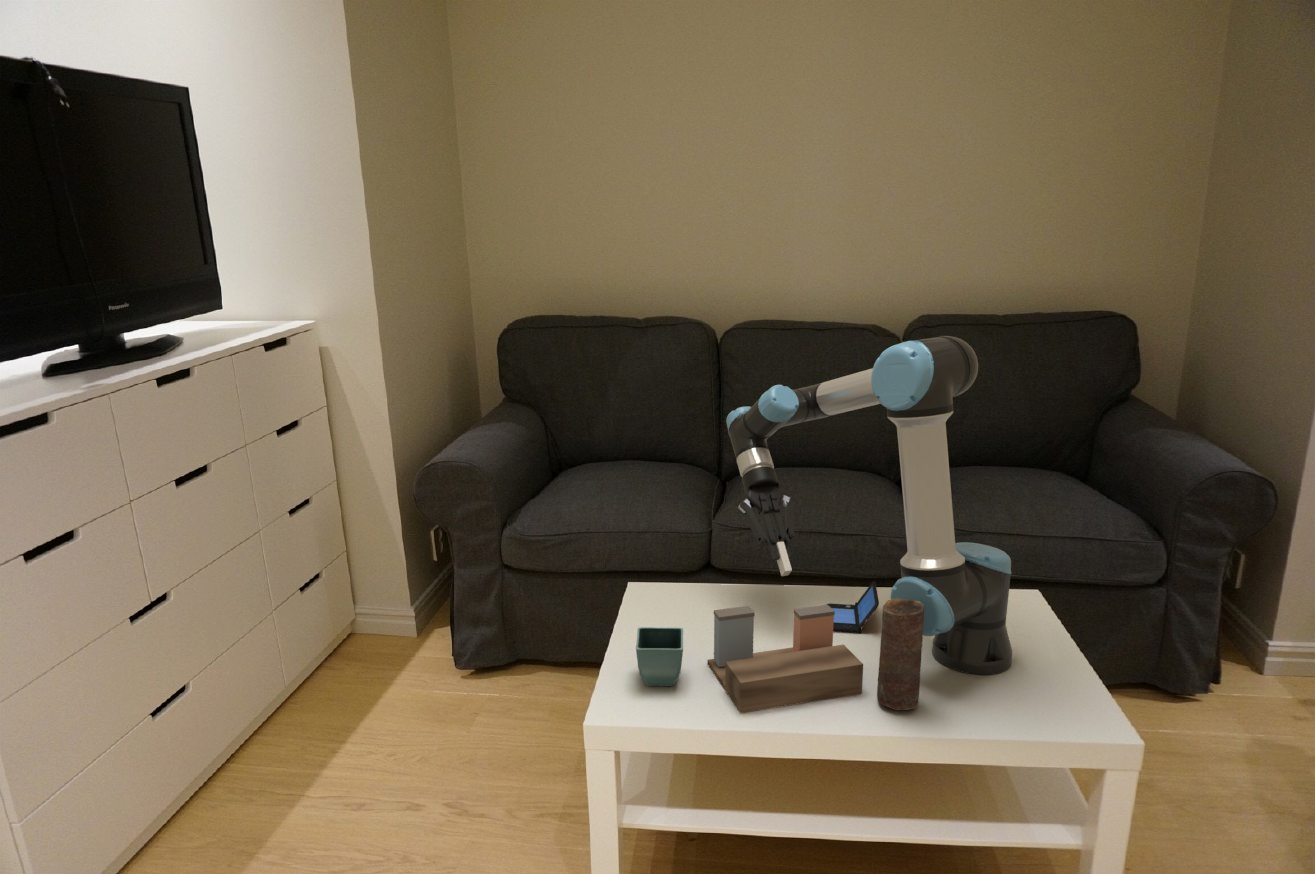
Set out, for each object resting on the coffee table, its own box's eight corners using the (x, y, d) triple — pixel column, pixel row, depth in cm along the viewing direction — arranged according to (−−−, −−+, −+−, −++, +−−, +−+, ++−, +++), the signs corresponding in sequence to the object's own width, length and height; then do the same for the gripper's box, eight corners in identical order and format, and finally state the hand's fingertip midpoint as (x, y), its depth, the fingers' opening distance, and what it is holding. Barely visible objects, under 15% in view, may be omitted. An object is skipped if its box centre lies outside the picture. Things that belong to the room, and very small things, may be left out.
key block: (707, 664, 182) (707, 636, 180) (819, 648, 188) (820, 621, 186) (740, 713, 164) (740, 683, 163) (861, 693, 170) (863, 664, 169)
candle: (910, 720, 161) (917, 616, 156) (870, 708, 165) (875, 606, 160) (923, 701, 168) (930, 600, 163) (884, 690, 172) (890, 591, 166)
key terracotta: (791, 658, 181) (793, 609, 178) (825, 653, 183) (827, 604, 180) (798, 666, 178) (800, 616, 175) (832, 661, 180) (834, 611, 177)
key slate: (713, 659, 181) (713, 610, 178) (747, 654, 182) (748, 605, 180) (718, 667, 178) (719, 617, 175) (753, 662, 179) (754, 612, 177)
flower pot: (683, 692, 171) (683, 648, 169) (636, 692, 172) (635, 648, 169) (683, 669, 180) (683, 627, 178) (638, 668, 180) (637, 627, 178)
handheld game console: (824, 607, 207) (826, 577, 205) (873, 610, 205) (875, 579, 203) (825, 633, 195) (826, 600, 193) (877, 636, 193) (879, 603, 191)
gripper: (780, 478, 205) (809, 576, 194) (725, 484, 202) (752, 584, 190) (790, 462, 199) (821, 562, 188) (734, 467, 196) (762, 569, 184)
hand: (786, 573), depth 189 cm, fingers closed
